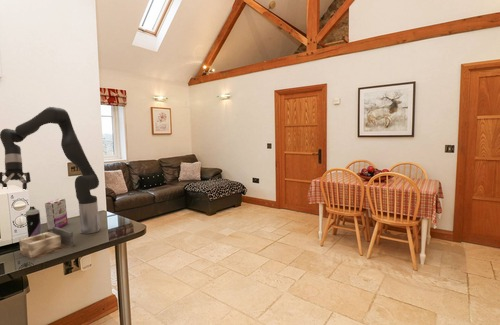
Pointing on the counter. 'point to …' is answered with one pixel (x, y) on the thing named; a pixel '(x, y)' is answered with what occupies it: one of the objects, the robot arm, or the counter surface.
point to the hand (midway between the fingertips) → (15, 190)
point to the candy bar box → (56, 213)
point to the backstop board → (65, 241)
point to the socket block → (40, 244)
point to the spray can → (33, 222)
